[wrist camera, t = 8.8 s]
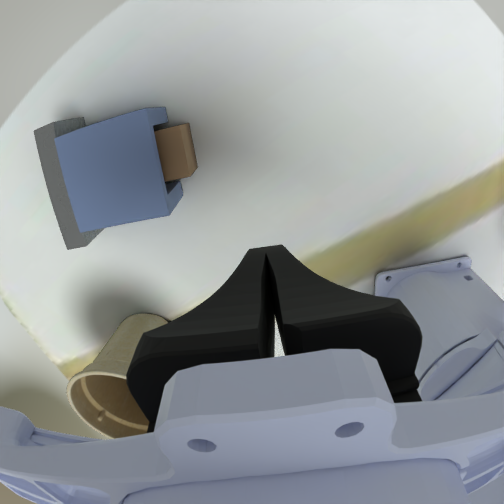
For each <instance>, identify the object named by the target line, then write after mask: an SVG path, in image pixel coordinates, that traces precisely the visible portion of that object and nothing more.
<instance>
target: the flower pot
mask: <svg viewBox="0 0 504 504" xmlns="http://www.w3.org/2000/svg"><path fill="white" fill-rule="evenodd" d="M167 323H168V322H167V321H166V320H165V319H163V318H162V317H160V316H157V315H152V314H144V313H141V314H135V315H131V316H129V317H127V318H126V319H125V320H124V321H123V322H122V323H121V324H120V325H119V327H118V328H117V330H116V331H115V333H114V334H113V335H112V337H111V338H110V340H109V341H108V342H107V344H106V345H105V346H104V348H103V349H102V350H101V352H100V353H99V354H98V356H97V357H96V358H95V360H94V361H93V363H91V364H89V365H88V366H86V367H85V368H84V369H83V370H82V371H81V372H79V373H77V374H75V375H74V376H73V377H72V378H71V379H70V381H69V383H68V385H67V392H66V393H67V397H68V400H69V403H70V404H71V406H72V408H73V409H74V411H75V412H76V413H77V414H78V416H79V417H80V418H81V419H82V420H83V421H84V422H85V423H86V424H88V425H89V426H90V427H91V428H93V429H94V430H96V431H98V432H99V433H100V434H103V435H104V436H106V437H108V438H110V439H116V438H122V437H129V436H135V435H141V434H146V433H147V429H148V425H149V421H148V419H147V418H146V416H145V415H144V413H143V412H142V410H141V409H140V407H139V406H138V404H137V403H136V401H135V399H134V398H133V396H132V395H131V393H130V391H129V388H128V386H127V383H126V374H127V371H128V368H129V365H130V363H131V360H132V357H133V355H134V352H135V349H136V347H137V344H138V342H139V340H140V338H141V336H142V334H143V333H144V332H147V331H150V330H152V329H155V328H157V327H160V326H162V325H164V324H167Z"/></svg>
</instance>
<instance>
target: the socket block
mask: <svg viewBox="0 0 504 504" xmlns="http://www.w3.org/2000/svg"><path fill="white" fill-rule="evenodd" d="M166 122H168V119H167V114H166V108H165V107H159V108H144V109H141V110H137V111H134V112H130V113H127V114H123V115H120V116H117V117H114V118H110V119H107V120H104V121H101V122H98V123H95V124H92V125H89V126H86V127H83V128H81V129H78V130H75V131H72V132H70V133H67V134H65V135H62V136H59V137H57V138H54V140H55V145H56V149H57V153H58V158H59V162H60V166H61V170H62V174H63V178H64V181H65V185H66V189H67V192H68V196H69V199H70V202H71V206H72V209H73V212H74V216H75V219H76V222H77V225H78V228H79V231H80V233H82V232H86V231H91V230H96V229H101V228H106V227H111V226H116V225H121V224H126V223H131V222H137V221H142V220H147V219H153V218H158V217H164V216H169V215H170V214H171V212H172V211H173V209H174V208H175V206H176V205H177V204H178V202H179V201H180V199H181V198H182V196H183V192H182V188H181V183H180V181H178V182H173V183H168V184H165V181H164V177H163V172H162V168H161V163H160V159H159V154H158V149H157V144H156V139H155V134H154V129H153V126H154V125H158V124H162V123H166Z"/></svg>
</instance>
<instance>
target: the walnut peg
mask: <svg viewBox="0 0 504 504" xmlns="http://www.w3.org/2000/svg"><path fill="white" fill-rule="evenodd" d="M154 134H155V139H156V144H157V149H158V154H159V159H160V163H161V168H162V172H163V177H164V181H165V182H166V181H170V180H175V179H180V178H185V177H190V176H191V175H192V174H193V173H194V171H195V170H196V169H197V168H198V166H197V161H196V156H195V151H194V146H193V141H192V136H191V131H190V126H189V123H186V124H182V125H177V126H173V127H169V128H165V129H161V130H157V131H154Z"/></svg>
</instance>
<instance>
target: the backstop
mask: <svg viewBox="0 0 504 504" xmlns="http://www.w3.org/2000/svg"><path fill="white" fill-rule="evenodd" d="M83 127H85V122H84V117H82V118H75V119H69V120H63V121H57V122H52V123H50V124H48V125H45V126H43V127H41V128H39V129H36V130H34V135H35V140H36V144H37V149H38V153H39V157H40V162H41V166H42V170H43V174H44V177H45V181H46V185H47V188H48V192H49V195H50V199H51V202H52V205H53V209H54V212H55V215H56V218H57V221H58V224H59V227H60V230H61V233H62V236H63V239H64V242H65V244H66V247H67V250H69V249H74V248H80V247H85V246H87V245H88V244H89V243H90V242H91V241H92V240H93V239H94V238H95V237H96V236H97V235H98V234H99V233H100V232H101V231H102V230H103V229H104V228H101V229H96V230H91V231H86V232H82V233H80V231H79V228H78V225H77V222H76V219H75V216H74V212H73V209H72V206H71V202H70V199H69V196H68V192H67V189H66V185H65V181H64V178H63V174H62V170H61V166H60V162H59V158H58V153H57V149H56V145H55V140H54V138H57V137H59V136H62V135H65V134H67V133H70V132H72V131H75V130H78V129H81V128H83Z"/></svg>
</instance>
